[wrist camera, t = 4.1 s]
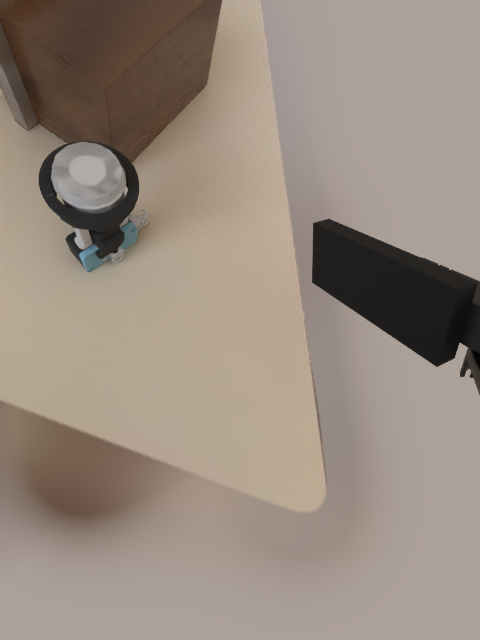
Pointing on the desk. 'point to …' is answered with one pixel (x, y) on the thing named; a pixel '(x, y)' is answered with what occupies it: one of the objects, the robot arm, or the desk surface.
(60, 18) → the box
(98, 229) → the push button
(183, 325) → the desk surface
